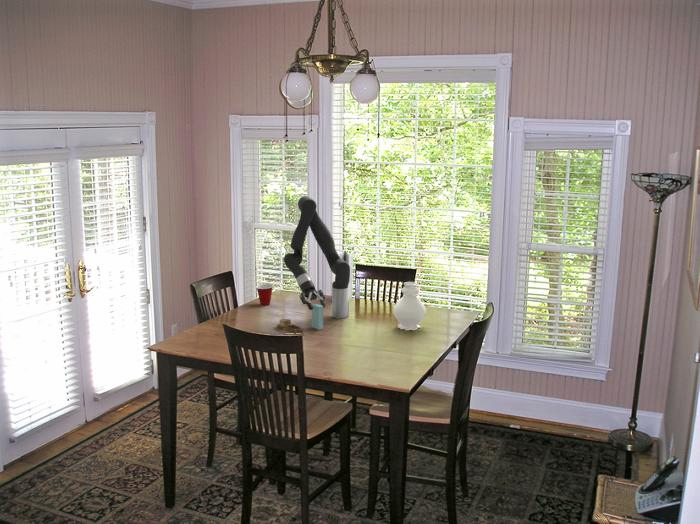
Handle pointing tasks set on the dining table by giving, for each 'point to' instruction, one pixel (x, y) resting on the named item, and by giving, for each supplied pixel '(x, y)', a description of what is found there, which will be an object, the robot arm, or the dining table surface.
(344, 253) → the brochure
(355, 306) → the dining table surface
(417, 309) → the decorative vase
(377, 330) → the dining table surface
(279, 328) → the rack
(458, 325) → the dining table surface
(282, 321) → the offcut top
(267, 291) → the plastic cup
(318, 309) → the teal rectangular block
